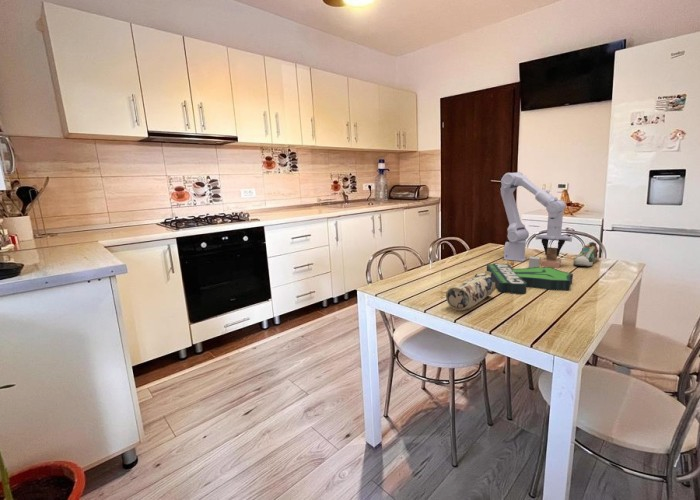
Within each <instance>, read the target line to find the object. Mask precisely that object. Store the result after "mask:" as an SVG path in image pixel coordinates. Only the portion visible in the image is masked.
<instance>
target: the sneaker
mask: <svg viewBox="0 0 700 500" xmlns="http://www.w3.org/2000/svg"><path fill="white" fill-rule="evenodd" d="M599 252H600V251H599V248H598V246H597V243H596V242H594V241H590V242H589V243H587V244H585V245H583V247H582V248H581V250H580V253H578V255H576V257H574V258H573V262H572V263H573V265H574V266H582V267H592V266H593V263H594V261H595V262H596V261H597V259H598V258H599V257H598V253H599Z"/></svg>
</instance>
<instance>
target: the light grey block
mask: <svg viewBox="0 0 700 500" xmlns="http://www.w3.org/2000/svg"><path fill="white" fill-rule="evenodd" d="M528 259H529V261H528V268H533V267H541V256H540V257H539V256H530V257H529V258H528Z"/></svg>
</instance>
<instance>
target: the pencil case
mask: <svg viewBox="0 0 700 500" xmlns="http://www.w3.org/2000/svg"><path fill="white" fill-rule="evenodd" d="M495 288H496V286H495V281H494V279H493V278H492V277H491V272H488V271H487V270H485V272H481V273H476V274H475V276H473V278H469V279H468V280H465V281H464V282H463V281H462V283H460V284H459V285H454V286H450V287H449V288H447V291H446V292H445V299H446V303H447V304H448V306H449V307H450V308H451V309H452V310H454V311H465V310H470V309H471V308H472V307H474V306H475V305H478V304H479V303H480V302H481V301H483V300H484V299H486V298H487V297H488V296H489V297H490V296H491V295H492V294H493V293H494V291H495Z"/></svg>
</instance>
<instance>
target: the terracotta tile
mask: <svg viewBox="0 0 700 500" xmlns="http://www.w3.org/2000/svg"><path fill="white" fill-rule="evenodd" d="M561 265H562V259H559V258H557V259H556V260H547V259H546V257H544V258H543V259H542V260H540V267H552V268H554V269H559V268H560V267H561Z"/></svg>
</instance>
